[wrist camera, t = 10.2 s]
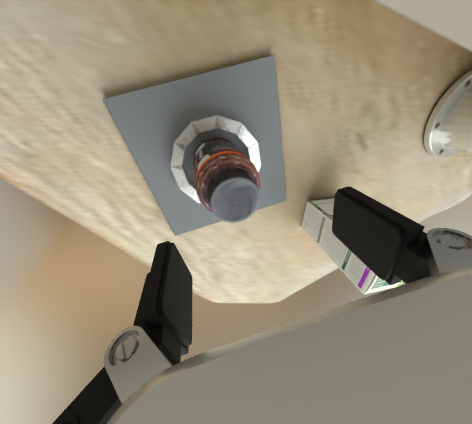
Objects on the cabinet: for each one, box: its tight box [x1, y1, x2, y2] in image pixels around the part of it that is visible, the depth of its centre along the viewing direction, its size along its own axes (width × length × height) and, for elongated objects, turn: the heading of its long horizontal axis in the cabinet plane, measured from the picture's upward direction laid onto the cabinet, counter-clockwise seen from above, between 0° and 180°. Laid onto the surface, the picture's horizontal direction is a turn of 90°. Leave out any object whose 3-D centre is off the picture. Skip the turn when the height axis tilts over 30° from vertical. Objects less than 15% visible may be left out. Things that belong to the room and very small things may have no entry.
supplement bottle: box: [194, 138, 261, 223], centre depth 19 cm, size 6×6×11 cm
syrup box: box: [301, 198, 404, 294], centre depth 27 cm, size 6×6×14 cm
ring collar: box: [170, 114, 261, 203], centre depth 23 cm, size 10×10×2 cm
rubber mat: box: [103, 55, 286, 236], centre depth 24 cm, size 18×18×1 cm
